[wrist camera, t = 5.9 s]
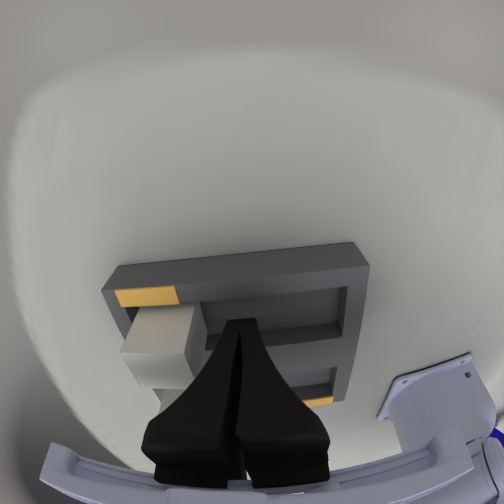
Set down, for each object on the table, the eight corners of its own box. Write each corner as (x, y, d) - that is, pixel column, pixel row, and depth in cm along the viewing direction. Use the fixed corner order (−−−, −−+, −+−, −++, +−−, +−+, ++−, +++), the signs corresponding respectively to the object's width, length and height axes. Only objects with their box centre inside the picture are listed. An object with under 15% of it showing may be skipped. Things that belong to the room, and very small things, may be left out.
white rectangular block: (197, 294, 14) (183, 353, 10) (207, 331, 15) (199, 389, 12) (144, 298, 14) (119, 352, 11) (158, 333, 15) (141, 387, 12)
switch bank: (353, 242, 14) (370, 266, 12) (337, 375, 19) (344, 401, 17) (117, 266, 15) (100, 291, 12) (172, 387, 20) (167, 412, 18)
